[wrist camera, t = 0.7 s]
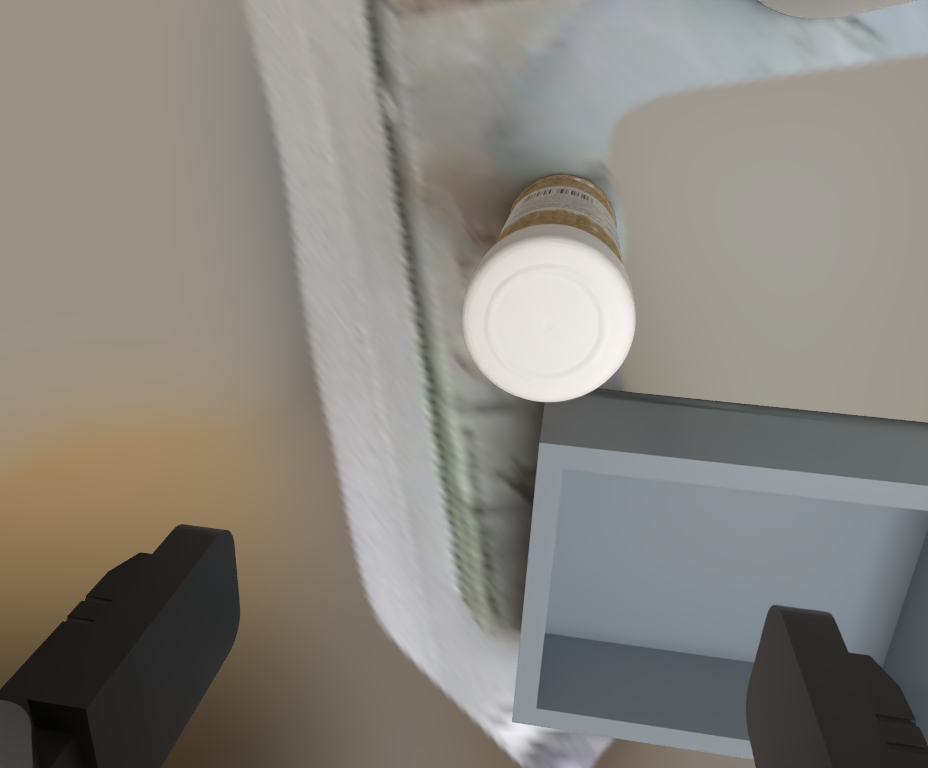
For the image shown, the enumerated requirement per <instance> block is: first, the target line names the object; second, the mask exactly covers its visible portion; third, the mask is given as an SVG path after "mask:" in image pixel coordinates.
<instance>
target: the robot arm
mask: <svg viewBox="0 0 928 768" xmlns="http://www.w3.org/2000/svg"><path fill="white" fill-rule="evenodd" d="M237 581H238V580H237V569H236V558H235V547H234V539H233V536H232V534H231V533H230V531H228V530H221V529H213V528H207V527H199V526H192V525H184V524H181V525H178V526H177V527H175V529H174V530H173V531H172V532H171V533H170V534H169V535H168V536H167V537H166V539H165V540H164V541H163V542H162V543H161V544H160V546H159V547H158V548H157V549H156V550H155V551H154V553H153V554H148V553H138V554H137V555H135V556H133V557H132V558H130V559H129V560H127V561H125V562H124V563H122V564H120V565H119V566H117V567H115V568H114V569H112V570H110V571H109V572H107V574H106V575H105V576H104V577H103V578H102V579H101V580H100V581H99V582H98V583H97V584H96V586H95V587H94V588H93V589H92V590H91V591H90V592H89V593H88V594H87V596H86V599H85V601H81V602H80V603H79V604H78V605H77V606H76V608H74V610H73V611H72V612H71V613H70V614H69V615H68V616H67V617H68V618H67V621H66V622H62V623H61V624H60V625H59V626H58V627H57V628H56V629H55V630H54V631H53V633H52V634H51V635H50V636H49V637H48V638H47V639H46V640H45V641H44V642H43V644H42V645H41V646H40V647H39V648H38V649H37V650H36V651H35V652H34V653H33V654H32V655H31V657H30V658H29V659H28V660H27V661H26V662H25V663H24V664H23V665H22V666H21V668H20V669H19V670H18V671H17V672H16V673H15V674H14V675H13V676H12V677H11V678H10V679H9V681H8V682H7V683H6V684H5V685H4V686H3V687H2V688H1V690H0V768H161V767H162V765H163V763H164V761H165V760H166V758H167V757H168V755H169V753H170V751H171V750H172V748H173V747H174V745H175V743H176V741H177V740H178V738H179V737H180V735H181V733H182V731H183V730H184V728H185V726H186V725H187V723H188V721H189V720H190V718H191V716H192V714H193V713H194V711H195V709H196V708H197V706H198V704H199V703H200V701H201V700H202V698H203V696H204V694H205V693H206V691H207V689H208V688H209V686H210V684H211V683H212V681H213V679H214V678H215V676H216V674H217V673H218V671H219V669H220V668H221V666H222V664H223V662H224V661H225V659H226V657H227V656H228V654H229V652H230V650H231V648H232V646H233V644H234V641H235V638H236V634H237V631H238V626H239V620H240V603H239V593H238V582H237ZM746 722H747V730H748V735H749V739H750V744H751V748H752V753H753V757H754V761H755V766H756V768H928V744H927V742H926V740H925V738H924V736H923V734H922V731H921V729H920V727H917V726H916V719H915V717H914V715H913V713H912V711H911V709H910V707H909V704H908V702H907V700H906V698H905V696H904V694H903V692H902V690H901V688H900V686H899V685H898V684H897V683H896V682H895V681H894V680H893V679H892V678H891V677H890V676H889V675H888V674H887V673H886V672H885V671H884V669H883V668H882V667H881V666H880V665H879V664H878V663H877V662H876V661H875V660H874V659H873V658H872V657H871V656H870V655H863V654H856V653H849V652H848V649H847V647H846V645H845V642H844V640H843V638H842V635H841V633H840V631H839V628H838V626H837V624H836V621H835V619H834V617H833V616H832V614H830V613H829V612H825V611H818V610H810V609H803V608H795V607H788V606H780V605H772V606H771V607H770V609H769V611H768V613H767V616H766V620H765V623H764V627H763V631H762V635H761V639H760V642H759V646H758V650H757V654H756V658H755V661H754V665H753V669H752V673H751V676H750V680H749V684H748V689H747V697H746Z"/></svg>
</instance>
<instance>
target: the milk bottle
mask: <svg viewBox="0 0 928 768" xmlns="http://www.w3.org/2000/svg"><path fill="white" fill-rule="evenodd" d="M758 1H759V2H761V3H762V4H764V5H765V6H767V7H769V8H771V9H773V10H775V11H777V12H780V13H782V14H786V15H789V16H793V17H799V18H807V19H825V18H835V17H842V16H848V15H853V14H858V13H862V12H867V11H872V10H876V9H881V8H885V7H890V6H895V5H899V4H903V3H908V2H912V1H916V0H758Z"/></svg>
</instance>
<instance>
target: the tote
mask: <svg viewBox="0 0 928 768" xmlns="http://www.w3.org/2000/svg"><path fill="white" fill-rule="evenodd" d="M772 605H780V606H788V607H795V608H803V609H810V610H818V611H825V612H829V613H830V614H832V616H833V617H834V619H835V621H836V624H837V626H838V628H839V631H840V633H841V635H842V638H843V640H844V642H845V645H846V647H847V649H848V652H849V653H856V654H863V655H870V656H871V657H872V658H873V659H874V660H875V661H876V662H877V663H878V664H879V665H880V666H881V667H882V668H883V669H884V671H885V672H886V673H887V674H888V675H889V676H890V677H891V678H892V679H893V680H894V681H895V682H896V683H897V684H898V685H899V686H900V688H901V690H902V692H903V694H904V696H905V698H906V700H907V702H908V704H909V707H910V709H911V711H912V713H913V715H914V717H915V719H916V726H917V727H920V729H921V731H922V734H923V736H924V738H925V740H926V742H927V744H928V423H925V422H916V421H905V420H896V419H886V418H876V417H867V416H857V415H847V414H838V413H828V412H818V411H808V410H798V409H789V408H778V407H769V406H759V405H750V404H740V403H729V402H720V401H710V400H701V399H691V398H681V397H671V396H662V395H652V394H642V393H632V392H622V391H613V390H603V389H595V390H593V391H591V392H589V393H587V394H585V395H583V396H580V397H577V398H574V399H570V400H566V401H560V402H545V404H544V411H543V419H542V426H541V434H540V441H539V451H538V461H537V471H536V482H535V492H534V502H533V512H532V523H531V533H530V543H529V553H528V564H527V574H526V584H525V594H524V605H523V615H522V625H521V635H520V646H519V656H518V666H517V676H516V687H515V697H514V707H513V717H512V722H515V723H522V724H528V725H534V726H541V727H547V728H554V729H560V730H567V731H573V732H580V733H586V734H593V735H599V736H605V737H612V738H618V739H626V740H632V741H638V742H644V743H651V744H657V745H664V746H670V747H677V748H684V749H689V750H696V751H703V752H709V753H715V754H722V755H728V756H735V757H741V758H748V759H754V757H753V753H752V748H751V744H750V739H749V735H748V730H747V722H746V697H747V689H748V684H749V680H750V676H751V673H752V669H753V665H754V661H755V658H756V654H757V650H758V646H759V642H760V639H761V635H762V631H763V627H764V623H765V620H766V616H767V613H768V611H769V609H770V607H771V606H772Z"/></svg>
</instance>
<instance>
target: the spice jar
mask: <svg viewBox="0 0 928 768" xmlns="http://www.w3.org/2000/svg"><path fill="white" fill-rule="evenodd" d="M635 316H636V315H635V304H634V297H633V292H632V287H631V283H630V280H629V277H628V275H627V272H626V270H625V268H624V267H623V263H622V258H621V252H620V246H619V240H618V235H617V231H616V217H615V213H614V210H613V208H612V206H611V204H610V202H609V200H608V198H607V197H606V195H605V194H604V193H603V192H602V191H601V190H600V189H599V188H598V187H597V186H596V185H594V184H593V183H591V182H590V181H588V180H586V179H583V178H579V177H577V176H573V175H564V174H558V175H552V176H548V177H545V178H542V179H539V180H537V181H536V182H534V183H533V184H532V185H530V186H529V187H526V188H525V189H524V190H523V191H522V192H521V194H520V195H519V196H518V197H517V198H516V200H515V201H514V203H513V205H512V207H511V209H510V213H509V217H508V219H507V221H506V223H505V225H504V227H503V229H502V231H501V233H500V235H499V237H498V238H497V240H496V242H495V244H494V246H493V247H492V248H491V249H490V250H489V251H488V252H487V253H486V254H485V256H484V257H483V258H482V260H481V261H480V263H479V264H478V266H477V268H476V269H475V271H474V273H473V275H472V278H471V280H470V282H469V285H468V287H467V290H466V293H465V297H464V300H463V305H462V315H461V321H462V331H463V337H464V341H465V344H466V346H467V349H468V351H469V353H470V355H471V357H472V359H473V361H474V362H475V364H476V365H477V367H478V368H479V370H480V371H481V372H482V373H483V374H484V375H485V376H486V377H487V378H488V379H489V380H490V381H492V382H493V383H494V384H495V385H497V386H498V387H499V388H501V389H503V390H504V391H506V392H508V393H510V394H512V395H515V396H518V397H521V398H524V399H527V400H532V401H538V402H560V401H566V400H570V399H574V398H577V397H580V396H583V395H585V394H587V393H589V392H591V391H593V390H595V389H596V388H598V387H599V386H601V385H602V384H603V383H605V382H606V381H607V380H608V379H609V378H610V377H611V376H612V375H613V374H614V373H615V372H616V371H617V370H618V369H619V367H620V366H621V365H622V363H623V361H624V360H625V358H626V356H627V354H628V352H629V349H630V347H631V344H632V341H633V337H634V332H635V322H636V317H635Z"/></svg>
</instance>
